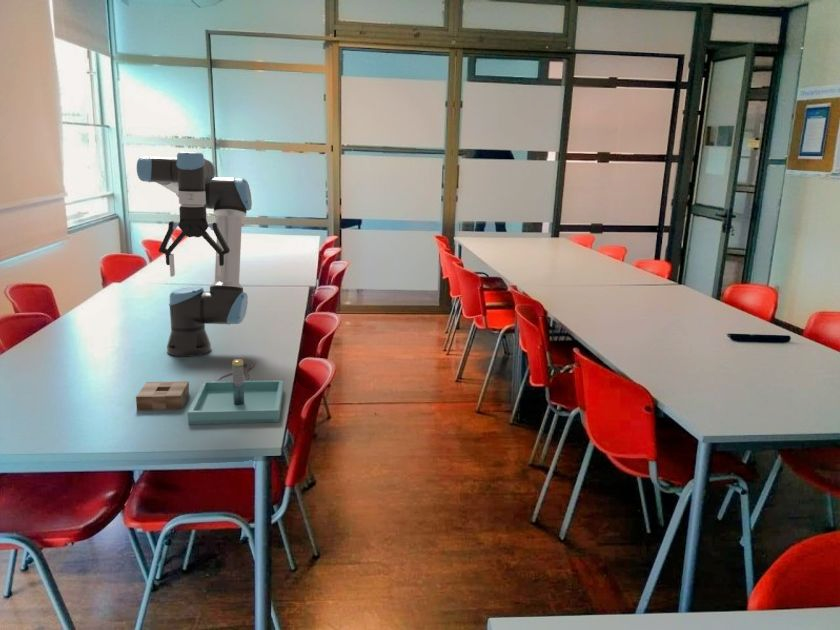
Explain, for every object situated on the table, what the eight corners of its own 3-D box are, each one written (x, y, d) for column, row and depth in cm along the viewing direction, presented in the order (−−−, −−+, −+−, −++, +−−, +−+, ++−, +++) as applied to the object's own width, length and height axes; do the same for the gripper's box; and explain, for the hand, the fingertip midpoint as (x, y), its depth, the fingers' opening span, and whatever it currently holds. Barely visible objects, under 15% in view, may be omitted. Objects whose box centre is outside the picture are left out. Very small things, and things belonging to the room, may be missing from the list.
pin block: (147, 394, 194) (146, 382, 193) (189, 393, 196) (188, 381, 195) (136, 410, 182) (135, 396, 181) (181, 409, 184) (180, 395, 183)
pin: (234, 401, 189) (232, 359, 185) (244, 401, 189) (243, 359, 186) (233, 405, 186) (231, 362, 183) (243, 405, 186) (242, 362, 183)
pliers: (215, 382, 205) (226, 362, 224) (215, 385, 205) (226, 364, 224) (247, 382, 206) (255, 362, 225) (247, 385, 206) (255, 364, 225)
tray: (203, 392, 197) (202, 381, 196) (283, 390, 201) (283, 380, 200) (188, 424, 174) (187, 412, 174) (278, 422, 178) (278, 410, 177)
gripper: (145, 205, 185) (149, 277, 191) (234, 207, 189) (236, 278, 195) (151, 203, 193) (155, 273, 198) (237, 205, 197) (239, 274, 202)
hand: (196, 276), depth 196 cm, fingers open, 13 cm apart
